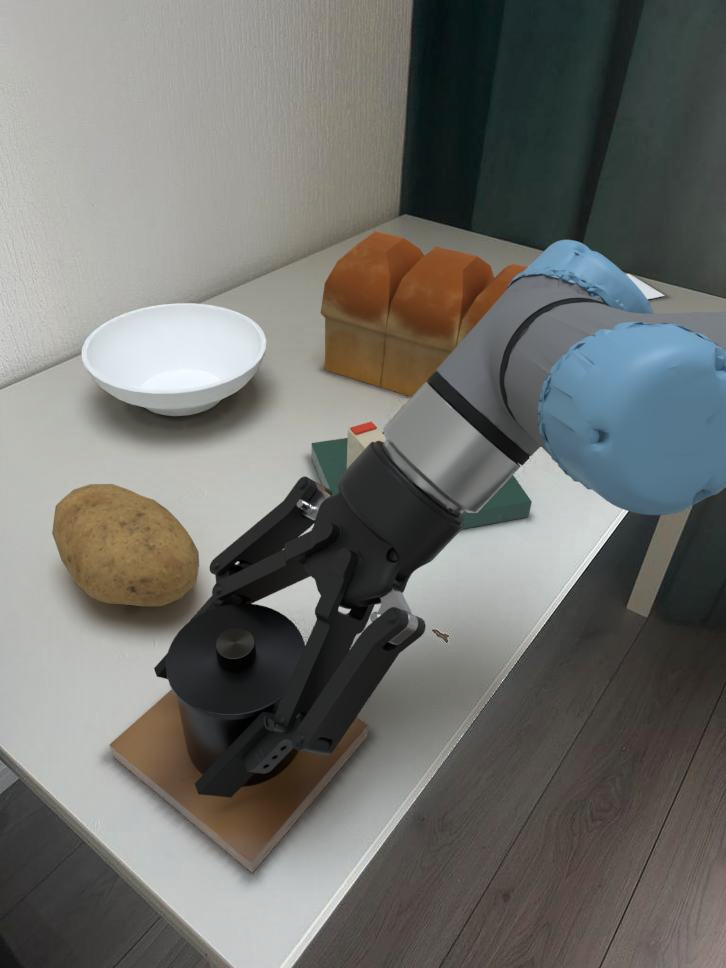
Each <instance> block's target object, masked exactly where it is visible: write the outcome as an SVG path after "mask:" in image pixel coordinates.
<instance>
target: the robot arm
mask: <svg viewBox="0 0 726 968" xmlns="http://www.w3.org/2000/svg"><path fill="white" fill-rule="evenodd" d="M526 267H527V268H526V269H525V270H524V271H523V272H521V273H519V274H518V275H516V276H515V277H514V278H513V279H512V281H511V283H510V284H509V285H508V287H507V290H506V291H505V292H504V293H503V295H502V296H501V297H500V298H499V299H498V300H497V301H496V303H495V304H494V305H493V306H492V307H491V308H490V309H489V311H488V312H487V313H486V314H485V315H484V316H483V317H482V318H481V320H480V321H479V322H478V323H477V324H476V325H475V326H474V328H473V329H472V330H471V331H470V332H469V333H468V334H467V335H466V337H465V338H464V339H463V340H462V341H461V342H460V343H459V345H458V346H457V347H456V348H455V349H454V350H453V351H452V352H451V354H450V355H449V356H448V357H447V358H446V359H445V360H444V362H443V363H442V364H441V365H440V366H439V367H438V368H437V370H436V372H434V373H433V374H432V375H431V376H430V377H429V379H428V381H429V382H430V383H429V382H428V381H426V382H425V383H424V384H423V385H422V386H421V387H420V389H419V390H418V391H417V392H416V393H415V394H414V395H413V396H412V397H411V396H410V398H409V399H408V400H407V401H406V402H405V403H404V404H403V406H401V408H400V409H399V410H398V411H397V412H396V413H395V414H394V415H393V417H391V419H390V420H389V421H388V422H387V423H385V425H384V426H383V428H382V430H383V433H384V436H385V438H386V441H385V442H382V441H376V442H371V443H370V444H369V445H368V446H367V447H366V448H365V449H364V451H363V452H362V453H361V454H360V455H359V456H358V457H357V458H356V459H355V461H354V462H353V463H352V464H351V465H350V466H349V467H348V468H347V470H346V471H345V472H344V473H343V474H342V475H341V476H340V478H339V481H338V488H339V492H338V493H336V494H334V495H333V493H332V491H331V490H329V489H328V488H326V487H324V486H323V485H322V483H319V482H317V481H315V480H314V479H312V478H310V477H308V476H301V477H300V478H299V479H298V480H297V481H296V483H295V484H294V485H293V487H292V488H291V489H290V491H289V492H288V494H287V495H286V497H285V498H284V499H283V500H282V501H281V502H280V503H279V504H277V505H276V506H275V507H274V508H273V509H272V510H270V511H269V512H268V513H266V515H264V516H263V517H262V518H261V519H260V520H258V521H257V522H256V523H255V524H254V525H253V526H251V527H250V528H249V529H247V530H246V531H245V532H244V533H243V534H242V535H240V536H239V537H238V538H236V540H235V541H234V542H232V543H231V544H230V545H228V546H227V547H226V548H225V549H224V550H222V551H221V552H220V553H219V554H218V555H216V556H215V557H214V558H213V559H212V560H211V562H210V564H209V572H210V574H212V575H214V577H215V583H214V585H213V586H212V590H211V596H210V597H209V598H208V599H207V600H206V602H204V604H203V605H202V606H201V607H200V608H199V610H198V611H196V613H195V614H194V615H193V616H192V617H191V618H190V620H189V622H190V621H191V620H192V619H194V618H195V617H197V616H198V615H200V614H202V613H204V612H206V611H208V610H211V609H213V608H216V607H220V606H224V605H229V604H239V603H247V604H255V603H256V602H258V601H260V600H262V599H264V598H267V597H269V596H272V595H273V594H275V593H277V592H280V591H282V590H284V589H287V588H289V587H291V586H293V585H295V584H297V583H299V582H301V581H303V580H306V579H309V578H312V579H313V580H314V581H315V585H316V589H317V591H318V593H319V595H320V597H319V598H318V600H317V601H318V602H317V603H316V606H315V608H314V615H315V618H316V620H315V623H314V625H313V628H312V630H311V632H310V635H309V637H308V639H307V641H306V643H305V648H304V650H303V652H302V655H301V657H300V659H299V661H298V664H297V666H296V668H295V671H294V673H293V675H292V677H291V680H290V682H289V684H288V686H287V689H286V691H285V693H284V696H283V698H282V700H281V702H280V705H279V707H278V709H277V712H276V714H273V713H269V712H262V713H261V714H260V715H259V716H258V717H257V718H256V719H255V720H254V721H253V722H252V723H251V724H250V725H249V726H248V728H247V729H246V730H245V731H244V732H243V733H242V734H241V735H240V736H239V737H238V738H237V739H236V740H235V741H234V742H233V743H232V744H231V746H230V747H229V748H228V749H227V750H226V751H225V752H224V753H223V754H222V755H221V756H220V757H219V758H218V759H217V760H216V761H215V762H214V764H213V765H212V766H211V767H210V768H209V769H208V770H207V771H206V772H205V773H204V774H203V775H202V776H201V777H200V778H199V779H198V781H197V782H196V783H195V786H196V789H197V792H198V794H200V795H210V796H220V797H230V798H231V797H232V796H233V795H234V794H235V793H236V792H237V791H238V790H239V789H240V788H241V787H242V786H243V785H244V784H245V783H246V782H247V781H248V780H249V779H250V778H251V777H252V776H253V774H254V773H261V774H265V773H268V772H270V771H271V770H272V769H273V768H274V767H275V766H276V765H277V764H278V763H279V762H280V761H281V760H282V759H283V758H284V757H285V756H286V755H287V754H288V753H289V752H290V751H291V750H292V749H293V748H295V749H296V750H299V751H304V752H310V753H316V754H322V755H330V754H331V753H332V752H333V751H334V749H335V748H336V746H337V745H338V743H339V742H340V741H341V739H342V738H343V736H344V735H345V733H346V732H347V730H348V729H349V727H350V726H351V724H352V723H353V721H354V720H355V718H356V717H357V718H358V715H359V714H360V712H361V711H362V710H363V708H364V707H365V705H366V704H367V702H368V700H370V697H371V696H372V695H373V693H374V691H376V690H377V688H378V685H379V684H380V683H381V682H382V680H383V679H384V677H385V676H386V674H387V672H388V671H389V670H390V668H391V667H392V665H393V664H394V662H395V661H396V660H397V658H398V656H399V655H400V654H401V653H402V652H403V651H404V650H406V649H407V648H408V647H410V646H411V645H412V644H413V643H414V642H416V641H417V640H419V639H420V638H421V637H422V636H423V635H424V634H425V631H426V627H427V626H426V621H425V620H424V619H423V618H421V617H419V616H417V615H414V614H413V612H412V610H411V608H410V606H409V604H408V602H407V600H406V597H405V596H404V594H403V593H404V592H405V590H406V587H407V585H408V583H409V580H410V578H411V577H412V575H413V573H414V572H415V571H416V570H418V569H420V568H421V567H423V566H425V565H427V564H430V563H431V562H432V561H434V560H435V558H436V557H437V556H438V555H439V554H440V553H441V552H442V551H443V550H444V549H445V548H446V547H447V546H448V545H449V544H450V542H451V541H453V540H454V538H455V537H456V536H457V535H458V534H459V533H460V532H461V531H462V530H464V529H463V528H464V524H463V523H464V517H463V515H462V513H463V512H464V511H466V512H468V513H477V512H478V511H479V510H480V509H481V508H482V507H483V506H484V505H485V504H486V503H487V502H488V501H489V500H490V499H491V498H492V496H493V495H494V494H495V493H496V492H497V491H498V490H499V489H500V488H501V487H502V486H503V485H504V484H505V483H506V482H507V481H508V480H509V479H510V477H511V476H512V475H515V474H516V473H517V471H518V470H519V469H521V466H522V467H523V466H524V465H525V464H526V462H528V460H529V459H530V457H532V456H533V455H534V454H535V453H536V452H537V451H538V450H539V449H540V448H542V449H543V450H544V451H545V452H546V453H547V454H548V455H549V456H550V458H551V460H552V461H553V462H555V463H557V466H558V468H560V470H561V471H562V472H563V473H564V474H565V475H566V476H567V477H570V478H571V479H572V481H574V482H576V483H580V484H581V485H582V486H583V487H584V488H585V489H586V490H591V491H593V492H595V493H596V494H597V495H599V496H600V497H601V498H602V499H604V500H605V501H606V502H608V503H609V504H611V505H612V506H615V507H617V508H619V509H622V510H624V511H627V512H630V513H633V514H639V515H646V516H666V515H674V514H678V513H683V512H684V511H686V510H688V509H689V510H690V509H691V507H692V506H694V505H696V504H698V503H700V502H702V501H703V500H706V499H707V498H709V497H712V496H716V495H718V494H719V493H720V492H722V491H724V489H725V488H726V311H700V312H696V311H695V312H666V313H665V312H664V313H654V310H653V309H654V308H653V306H652V304H651V302H650V300H649V299H647V298H646V297H645V295H644V294H643V292H642V291H641V290H640V289H639V288H638V287H637V285H636V284H635V283H634V282H633V281H632V280H631V279H630V278H629V277H628V276H627V275H626V274H627V273H625V272H624V271H623V270H622V269H620V268H619V266H617V265H616V264H615V263H613V262H612V261H611V260H610V259H608V258H607V257H606V256H604V255H603V254H602V253H600V252H598V251H595V250H593V249H591V248H589V246H587V245H586V244H584V243H582V242H580V241H577V240H572V239H561V240H557V241H555V242H553V243H552V244H550V245H549V246H548V247H547V248H546V249H544V251H542V253H540V254H539V255H538V257H536V258H535V260H533V261H532V263H530V264H529V265H528V266H526ZM312 526H313V527H312ZM310 528H311V529H310ZM309 529H310V531H308V530H309ZM307 531H308V532H307ZM305 532H306V533H305ZM376 605H380V607H379V609H378V611H373V610H374V608H375V606H376ZM339 607H340V608H342V609H345V610H349V611H348V612H347V613H344V612H342V611H339ZM369 620H370V621H371V623H370V624H368V622H369ZM367 624H368V625H367ZM357 635H359V636H358V637H357ZM356 637H357V638H356ZM355 639H356V640H355ZM167 654H168V652H167V653H166V654H165V655H164V656H163V657H162V659H161V660H159V662H158V663H157V664H156V665H155V666H154V667H153V669H154V673H155V676H156V677H157V678H161V679H164V680H165V679H166V680H168V677H167V672H166V658H167ZM299 713H300V715H299Z"/></svg>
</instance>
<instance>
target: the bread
mask: <svg viewBox="0 0 726 968" xmlns="http://www.w3.org/2000/svg"><path fill="white" fill-rule="evenodd" d="M527 267H528V266H525V265H522V264H517V263H514V262H513V263H511V264H509V265H507V266H506V267H504V268H502V269H501V270H500V272H498V274H497V275H496V276H495V275H494V272H493V269H492V267H491V265H490V264H489V263H488V262H486V261H485V260H484V259H482V258H481V257H479V256H478V255H474V254H470V253H465V252H461V251H457V250H452V249H448V248H444V247H440V246H434V247H433V248H431V249H430V250H429V251H428V252H427V253H426V254H424V252H423V251H422V249H421V248H420V247H418V246H417V245H415V244H414V243H412V242H411V241H409V240H408V239H406V238H405V237H402V236H397V235H392V234H388V233H385V232H381V231H376V230H375V231H373V232H372V233H370V235H368V236H367V237H365V238H364V239H362V240H361V241H360V242H358V243H357V244H356V245H354V246H353V247H352V248H351V249H350V250H348V251H347V252H346V253H345V254H344V255H343V256H342V257H340V258H339V259H338V260H337V261H336V263H335V265H334V266H333V268H332V270H331V272H330V273H329V275H328V277H327V278H326V280H325V282H324V287H323V293H322V298H321V300H322V301H321V307H320V315H321V316H322V317H324V370H325V371H327V372H331V373H334V374H338V375H341V376H344V377H347V378H350V379H353V380H357V381H360V382H364V383H366V384H369V385H373V386H376V387H379V388H383V389H385V390H390V391H392V392H396V393H399V394H402V395H406V396H407V397H408V396H409V397H410V398H411V397H412V396H413V395H414V394H415V393H416V392H417V391H418V390H419V389H420V387H421V386H422V385H423V384H424V383H425V382H426V381H428V379H429V377H430V376H431V375H432V374H433V373H434V372H436V370H437V368H438V367H439V366H440V365H441V364H442V363H443V362H444V360H445V359H446V358H447V357H448V356H449V355H450V354H451V352H452V351H453V350H454V349H455V348H456V347H457V346H458V345H459V343H460V342H461V341H462V340H463V339H464V338H465V337H466V335H467V334H468V333H469V332H470V331H471V330H472V329H473V328H474V326H475V325H476V324H477V323H478V322H479V321H480V320H481V318H482V317H483V316H484V315H485V314H486V313H487V312H488V311H489V309H490V308H491V307H492V306H493V305H494V304H495V303H496V301H497V300H498V299H499V298H500V297H501V296H502V295H503V293H504V292H505V291H506V290H507V287H508V285H509V284H510V283H511V281H512V279H513V278H514V277H515V276H516V275H518V274H519V273H521V272H523V271H524V270H525V269H526V268H527ZM428 382H429V381H428ZM429 383H430V382H429Z"/></svg>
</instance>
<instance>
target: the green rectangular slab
mask: <svg viewBox="0 0 726 968" xmlns="http://www.w3.org/2000/svg"><path fill="white" fill-rule="evenodd" d="M382 433H383V434H384V432H382ZM347 442H348V437H344V438H336V439H330V440H323V441H317V442H311V444H310V445H311V447H310V448H311V460H312V463H313V465H314V468H315V470H316V473H317V475H318V478H319V480H320V484H321V485H322V486H324V487H326V488H328V489H329V490H331V491H332V493H333V495H334V494H336V493H338V492H339V488H338V481H339V478H340V476H341V475H342V474H343V473H344V472H345V471H346V470H347ZM532 503H533V501H532V499H531V498H530V497H529V495H528V494H527V492H526V491H525V489H524V488H523V486H522V485H521V484H520V483H519V481H518V480H517V478H516V477H515V474H513V475H512V476H511V477H510V479H509V480H508V481H507V482H506V483H505V484H504V485H503V486H502V487H501V488H500V489H499V490H498V491H497V492H496V493H495V494H494V495H493V496H492V498H491V499H490V500H489V501H488V502H487V503H486V504H485V505H484V506H483V507H482V508H481V509H480V510H479V511H478V512H477V513H468V512H466V511H464V512H463V513H462V515H463V517H464V523H463V524H464V528H463V529H462V530H465V529H471V528H476V527H481V526H487V525H493V524H498V523H503V522H508V521H515V520H520V519H525V518H529V516H530V511H531V507H532Z"/></svg>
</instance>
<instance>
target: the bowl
mask: <svg viewBox="0 0 726 968" xmlns="http://www.w3.org/2000/svg"><path fill="white" fill-rule="evenodd" d="M266 350H267V338H266V335H265V332H264V330H263V329H262V327H260V325H259V324H258V323H257V322H256V321H254V320H253V319H251V318H250V317H248V316H246V315H244V314H242V313H240V312H238V311H235V310H233V309H229V308H227V307H224V306H223V307H222V306H217V305H212V304H206V303H205V304H204V303H196V302H195V303H194V302H193V303H192V302H191V303H190V302H189V303H188V302H185V303H184V302H183V303H182V302H181V303H180V302H177V303H176V302H175V303H166V304H165V303H163V304H157V305H156V304H155V305H150V306H145V307H141V308H137V309H135V310H134V309H133V310H131V311H127V312H125V313H123V314H120V315H117V316H114V317H113V318H111V319H110V320H107V321H105V322H104V323H102V324H101V325H99V326H98V327H97V328H95V329H94V330H93V331H92V332H91V333H89V335H88V336H87V338H86V339H85V341H84V343H83V345H82V347H81V360H82V362H83V365H84V367H85V369H86V371H87V373H88V375H89V376H90V377H91V378H92V379H93V381H94V382H95V383H96V384H97V385H98V386H99V387H100V388H101V389H103V390H104V391H106V392H107V393H108V394H109V395H111V396H113V397H114V398H115V399H117V400H119V401H122V402H124V403H126V404H129V405H133V406H137V407H141V408H145V409H146V410H148V411H149V412H152V413H155V414H158V415H161V416H169V417H185V416H191V415H195V414H196V415H197V414H199V413H200V414H201V413H202V412H206V411H208V410H210V409H212V408H214V407H215V406H216V405H217V404H219V403H220V402H221V401H222V400H223V399H226V398H228V397H229V396H231V395H234V394H236V393H237V392H238V391H240V390H241V389H242V388H243V387H245V386H246V385H247V383H249V381H250V380H251V379H252V378H253V377H254V376H255V374H256V373H257V372H258V371H259V368H260V367H261V365H262V362H263V360H264V357H265V355H266V352H267V351H266Z"/></svg>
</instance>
